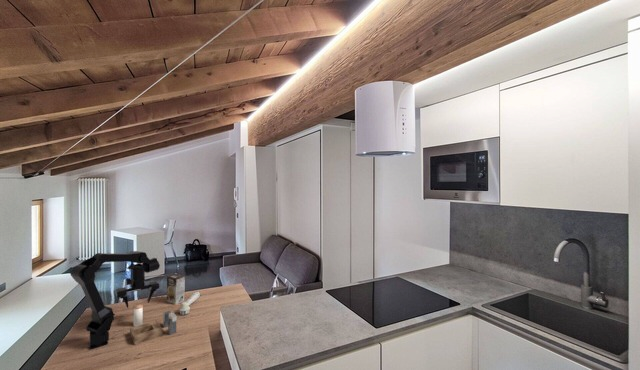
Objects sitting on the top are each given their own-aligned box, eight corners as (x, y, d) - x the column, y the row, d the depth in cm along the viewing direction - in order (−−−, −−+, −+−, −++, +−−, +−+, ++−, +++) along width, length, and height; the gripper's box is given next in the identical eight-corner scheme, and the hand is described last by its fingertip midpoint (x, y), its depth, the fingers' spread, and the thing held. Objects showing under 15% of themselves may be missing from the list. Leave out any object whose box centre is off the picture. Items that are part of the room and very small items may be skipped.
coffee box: (166, 301, 174) (166, 276, 173) (175, 297, 179) (175, 273, 179) (175, 305, 169) (175, 278, 169) (184, 301, 175) (185, 275, 175)
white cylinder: (134, 327, 143) (134, 308, 143) (132, 324, 146) (132, 305, 146) (143, 324, 146) (143, 305, 146) (141, 321, 149) (141, 303, 149)
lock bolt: (172, 321, 135) (172, 317, 135) (168, 317, 140) (168, 313, 140) (176, 320, 137) (176, 316, 137) (173, 316, 141) (173, 312, 141)
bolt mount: (169, 334, 137) (169, 320, 137) (163, 325, 145) (163, 312, 145) (176, 332, 139) (176, 318, 139) (169, 323, 147) (169, 310, 147)
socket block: (134, 344, 128) (134, 338, 128) (130, 334, 137) (130, 328, 137) (162, 335, 136) (162, 329, 136) (156, 326, 145) (156, 320, 145)
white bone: (201, 291, 182) (188, 302, 157) (201, 301, 181) (187, 314, 156) (193, 291, 181) (178, 302, 157) (192, 301, 181) (177, 315, 156)
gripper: (154, 268, 158) (154, 295, 158) (114, 275, 145) (113, 305, 145) (159, 273, 150) (159, 301, 150) (117, 281, 137) (117, 312, 137)
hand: (137, 305), depth 146 cm, fingers open, 9 cm apart
